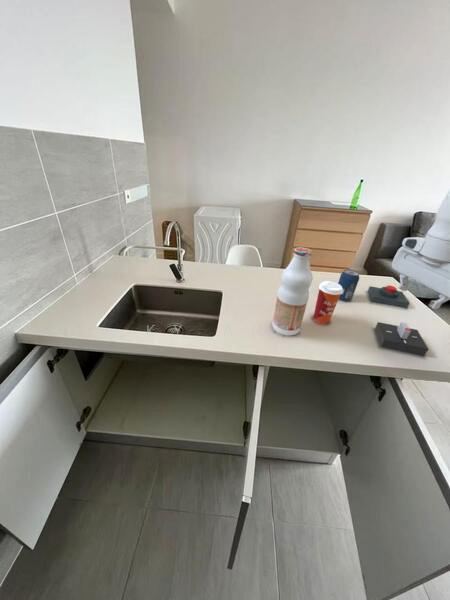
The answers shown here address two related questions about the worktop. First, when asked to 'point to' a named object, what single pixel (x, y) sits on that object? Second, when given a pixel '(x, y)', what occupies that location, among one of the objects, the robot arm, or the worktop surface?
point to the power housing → (387, 297)
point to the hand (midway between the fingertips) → (417, 298)
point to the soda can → (348, 284)
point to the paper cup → (327, 301)
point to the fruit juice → (293, 293)
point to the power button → (390, 289)
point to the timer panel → (400, 340)
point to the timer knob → (403, 330)
